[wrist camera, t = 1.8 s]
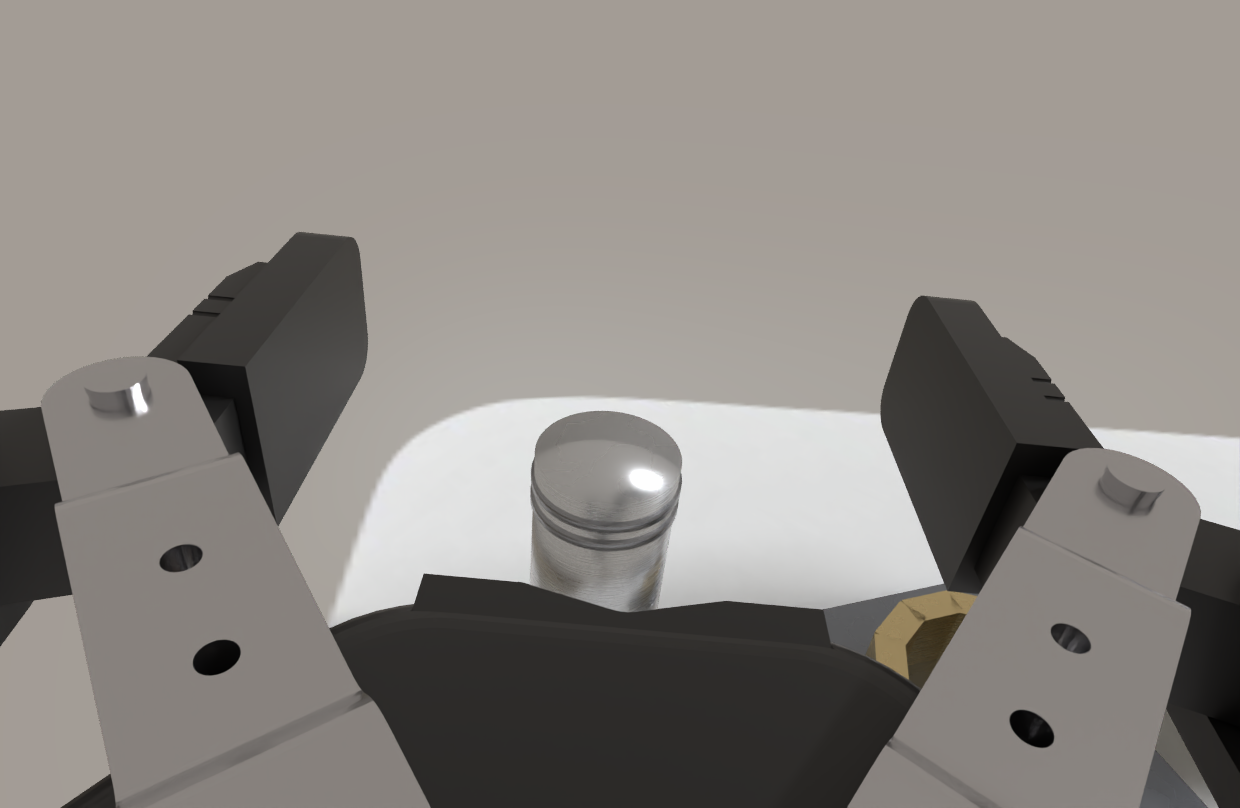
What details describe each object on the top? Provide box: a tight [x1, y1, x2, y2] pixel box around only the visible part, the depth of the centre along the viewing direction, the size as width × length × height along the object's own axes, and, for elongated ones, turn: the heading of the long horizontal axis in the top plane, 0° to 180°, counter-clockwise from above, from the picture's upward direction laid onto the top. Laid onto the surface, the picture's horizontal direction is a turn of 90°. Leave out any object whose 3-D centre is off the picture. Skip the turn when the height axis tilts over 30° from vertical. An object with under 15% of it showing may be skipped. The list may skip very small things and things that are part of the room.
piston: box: [530, 411, 682, 612], centre depth 31 cm, size 5×5×12 cm
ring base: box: [823, 584, 1208, 808], centre depth 32 cm, size 14×14×4 cm
